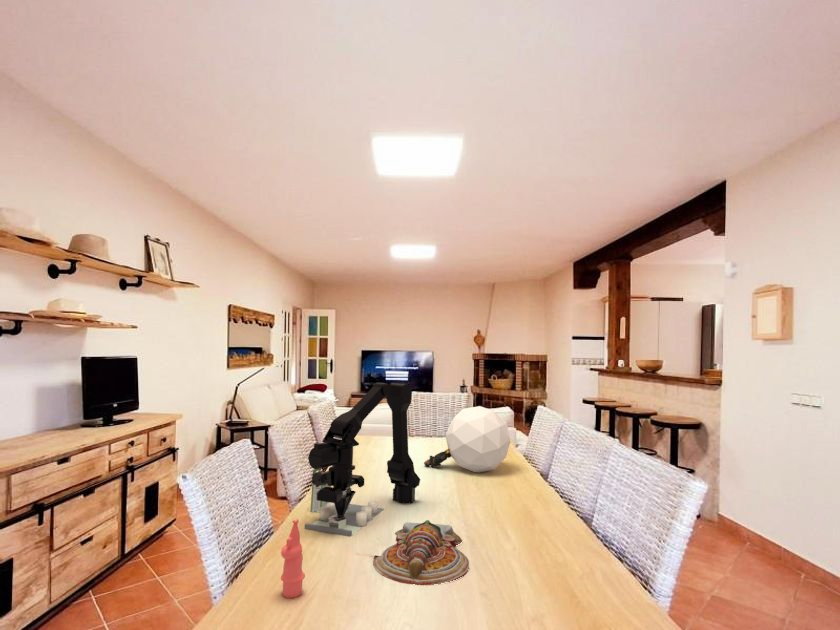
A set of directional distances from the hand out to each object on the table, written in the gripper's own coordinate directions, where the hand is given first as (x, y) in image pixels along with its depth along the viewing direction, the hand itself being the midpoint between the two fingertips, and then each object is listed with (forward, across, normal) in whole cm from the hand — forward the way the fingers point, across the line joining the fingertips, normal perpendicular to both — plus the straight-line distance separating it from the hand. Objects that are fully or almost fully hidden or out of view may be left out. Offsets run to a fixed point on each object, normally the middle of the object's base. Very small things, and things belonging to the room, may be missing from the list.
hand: (340, 518), depth 139 cm
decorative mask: (+3, +10, +28) cm, 30 cm away
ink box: (+3, -8, -11) cm, 14 cm away
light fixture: (+3, -79, +19) cm, 81 cm away
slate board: (+2, -4, 0) cm, 5 cm away
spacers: (+1, -6, 0) cm, 6 cm away
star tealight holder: (+1, +3, +1) cm, 4 cm away
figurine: (+2, +37, +8) cm, 38 cm away
